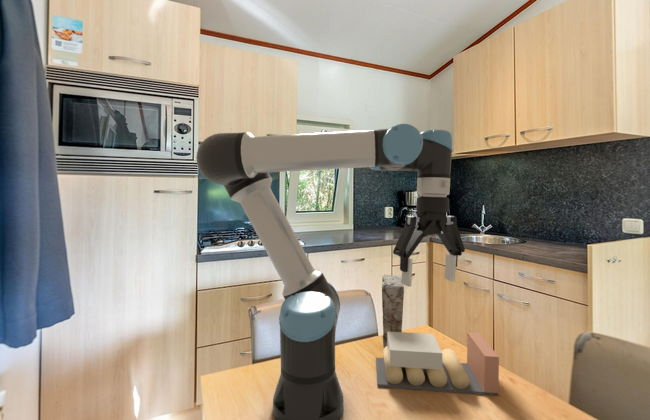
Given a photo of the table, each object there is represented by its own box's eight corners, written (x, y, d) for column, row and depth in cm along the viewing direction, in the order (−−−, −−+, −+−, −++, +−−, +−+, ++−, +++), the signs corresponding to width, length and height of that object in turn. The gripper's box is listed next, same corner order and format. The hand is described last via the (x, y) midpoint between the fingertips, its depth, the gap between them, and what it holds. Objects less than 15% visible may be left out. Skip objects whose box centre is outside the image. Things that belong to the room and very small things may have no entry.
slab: (390, 366, 73) (390, 350, 73) (387, 345, 83) (387, 331, 83) (442, 369, 72) (442, 353, 71) (432, 348, 82) (433, 333, 81)
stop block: (484, 394, 70) (484, 356, 69) (466, 365, 82) (467, 332, 81) (498, 395, 69) (499, 356, 69) (478, 366, 81) (479, 333, 81)
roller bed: (377, 386, 73) (377, 367, 73) (375, 359, 85) (375, 343, 85) (498, 395, 69) (498, 375, 69) (478, 366, 81) (479, 349, 81)
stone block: (406, 355, 87) (407, 285, 86) (382, 354, 88) (382, 285, 87) (399, 334, 100) (399, 273, 99) (377, 333, 101) (377, 273, 100)
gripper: (400, 195, 66) (396, 292, 67) (483, 197, 76) (478, 282, 77) (380, 194, 73) (377, 282, 74) (459, 196, 82) (455, 274, 84)
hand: (428, 282), depth 75 cm, fingers open, 13 cm apart
